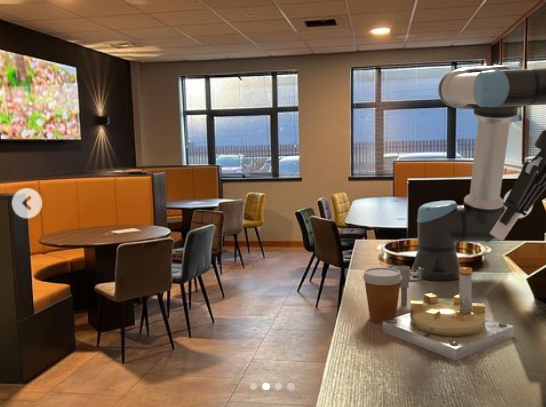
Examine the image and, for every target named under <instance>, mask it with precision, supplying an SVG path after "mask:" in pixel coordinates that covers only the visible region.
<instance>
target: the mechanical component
mask: <svg viewBox="0 0 546 407" xmlns="http://www.w3.org/2000/svg"><path fill="white" fill-rule="evenodd" d="M384 268H393V269H397V270H399V271H400V273H401V276H402V280H401V282H400V292H401V294H400V302H401V305H407V304H408V289H409V288H410V285H409V284H410V283H419V282H421V280H422V279H421V274H424V268H421V267H418V270H416V272H412V269H411V270H410V266H407V265H387V266H386V267H384ZM415 276H419V277H418V278H417V277H415ZM412 277H415V278H412Z"/></svg>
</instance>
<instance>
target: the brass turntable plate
mask: <svg viewBox="0 0 546 407" xmlns="http://www.w3.org/2000/svg"><path fill="white" fill-rule="evenodd" d="M472 274H473V268H472V267H470V266H460V268H459V282H458V283H459V288H458V290H459V291H458V292H459V293H458V294H457V295H456V294H455V295H454V296H453V298H442V297H441V298H438V295H436V294H435V293H432V292H431V293H424V294H423V299H422V300H412V299H411V300H410V308H409V309H410V312H409V313H410V322H411V323H412V325H413V326H415V327H416V328H418V329H420V330H423V331H426V332H429V333H434V334H439V335H449V336H463V335H471V334H476V333H479V332H481V331H482V330H484V328H485V317H486V304H485V303H480V302H477V303H476V302H472V281H473V280H472Z"/></svg>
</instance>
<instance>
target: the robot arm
mask: <svg viewBox="0 0 546 407" xmlns="http://www.w3.org/2000/svg"><path fill="white" fill-rule="evenodd" d="M437 92H438V96H439V98H440V100H441V101H442V103H443V104H445V105H446V106H449V107H451V108H454V109H459V110H460V109H461V110H473V115H474V116H475V117H476V119H477V130H476V135H475V137H476V138H475V144H474V145H475V147H474V154H473V163H472V172H471V181H470V188H469V189H470V190H469V194H466V195H465V197H464V198H463V204H462V205H461V204H460V205H459V204H457V202H456V201H455V200H439V201H431V202H427V203H424V204H422V205H420V206H419V208H418V209H417V219H416V222H417V251H416V255H415V258H414V260H413V261H414V262H413V264H412V265H411V266H412V267H411V272H416V270H418V267H421V268H424V274H421V280H424V281H425V280H426V281H433V282H434V281H435V282H439V281H440V282H446V281H447V282H448V281H455V280H458V279H459V268H460V267H461V264H460V261H459V260H460V259H459V257H458V255H457V243H483V242H484V243H490V242H497V241H501V242H502V241H504V240H505V239H506V237H507V236H508V234H509V232H510V231H511V230H512V228H513V227H514V225H515V224H516V222H517V221H518V220H519V217H520V216H521V215H522V216H524V217H526V216H527V214H528V213H527V212H529V210H531V208H532V206H533V205H534V204H536V201H537V200H538V199H539V198H540V197H541V195H542V194H543V192H545V190H546V129H544V130H542V131H541V133H540V135H539V136H538V137H537V139H536V140H535V141H534V146H535V148H538V149H539V150H540V151H539V152H538V153H536V155H535V156H534V157H532V159H531V161H529V160H526V161H525V162H524V163H523V165H522V167H521V171H520V173H519V175H518V176H517V179H516V180H515V182H514V184H513V186H512V187H511V190H510V192H509V193H508V195H507V197H506V199H505V200H504V199H503V198H502V197H501V191H502V185H503V184H502V183H503V175H504V168H505V160H506V154H507V146H508V140H509V135H510V134H509V133H510V124H511V121H512V120H513V119H514V118H516V117H517V116H518V109H521V108H524V107H525V106H545V105H546V67H545V68H544V67H543V68H542V67H541V68H526V69H525V68H523V69H522V67H520V66H518V65H506V64H502V65H485V66H466V67H460V68H456V69H454V70H451V71H449V72H447V73H446V74H445V75H444V76H443V77H442V78H441V80H440V82H439V83H438V89H437ZM414 277H415V278H418V277H419V276H414Z"/></svg>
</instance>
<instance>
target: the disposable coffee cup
mask: <svg viewBox="0 0 546 407" xmlns="http://www.w3.org/2000/svg"><path fill="white" fill-rule="evenodd" d="M362 279H363V281H364V287H365V294H366V300H367V302H366V303H367V307H368V314H369V320H370V321H372V322H374V323H378V324H383V321H385V320H389V319H392V318H395V317H397V312H398V304H399V297H400V296H399V295H400V291H401V288H400V282H401V280H402V276H401V273H400V271H399V270H397V269H393V268H387V267H385V268H384V267H381V266H380V267H370V268H368V269H365V270H364V273H363V275H362Z"/></svg>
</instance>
